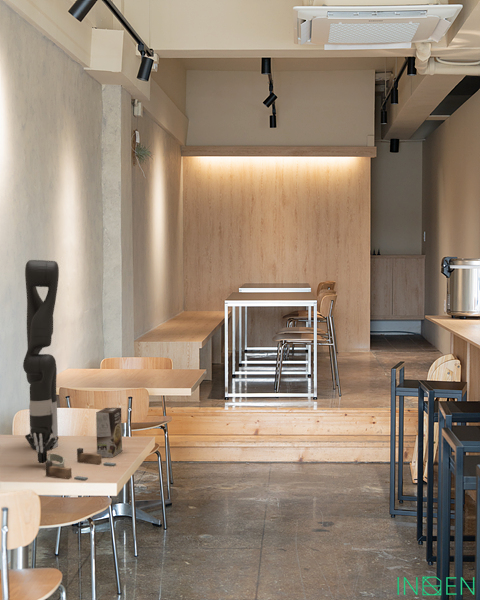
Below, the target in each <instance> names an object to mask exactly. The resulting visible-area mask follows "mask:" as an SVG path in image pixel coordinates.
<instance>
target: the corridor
mask: <svg viewBox="0 0 480 600" xmlns="http://www.w3.org/2000/svg"><path fill="white" fill-rule="evenodd" d="M76 455H77V456H76V459H77V463H83V462H84V464H92V465H101V464H102V457H101V455H100V454H97V453H90V452H89V453H88V452H84V448H82V447H79V448H77V449H76ZM52 463H53V461H46V462H45V477H51V478H52V477H53V478H60V479H67V480H70V479H71V478H72V476H73V475H72V468H71V467H64V466H63V467H57V466H52Z"/></svg>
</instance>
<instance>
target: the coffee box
mask: <svg viewBox="0 0 480 600" xmlns="http://www.w3.org/2000/svg"><path fill="white" fill-rule="evenodd" d="M95 416H96V417H95V421H96V422H95V426H96V427H95V428H96V454H100V455H101V458H114V457H115V456H117V455H118V454H119V453H121V452H122V451H123V431H122V430H123V429H122V428H123V427H122V426H123V425H122V407H105V408H102V409H100V410H98V411H97V412H96V414H95Z"/></svg>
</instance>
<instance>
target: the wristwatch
mask: <svg viewBox="0 0 480 600" xmlns="http://www.w3.org/2000/svg"><path fill="white" fill-rule="evenodd" d="M47 461H52V466H57V467H64V466H65V461H66V459H65V458H64V457H63V456H62V455H60V454H57V453H50V452H49V453H47ZM47 461H46V462H47ZM54 462H55V463H54ZM56 462H59V463H56Z"/></svg>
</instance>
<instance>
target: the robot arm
mask: <svg viewBox="0 0 480 600" xmlns="http://www.w3.org/2000/svg"><path fill="white" fill-rule="evenodd" d="M24 269H25V270H24V277H25V293H26V338H27V339H26V341H27V342H26V343H27V350H26V353H25V356H24V359H23V363H22V364H23V365H22V367H23V371H24V372H25V374H26V381H27V382H28V384H30V385H29V406H28V407H29V433H28V434H25V437H24V438H25V439H26V441H27V443H28V445H29V446H30V448H31V449H32V450H33V451H35V452H36V453H37V461H38V464H46V462H47V458H48V451H51V450H53V449H55V448H56V447H58V446H59V438H60V437H59V432H58V404H57V403H58V400H57V399H58V398H57V396H58V395H57V375H58V374H57V362H56V361H57V360H56V359H55V357H54V356H53V355H52V354H49V353H43V354H42V353H41V352H42V349H44V348H47V347H50V346H51V344H52V336H53V333H54V313H55V312H54V311H55V307H56V299H57V295H58V286H59V276H60V274H59V273H60V270H59V269H60V267H59V264H58V261H55V260H42V259H41V260H39V259H28V261H26V264H25V267H24ZM37 287H38V288H39V287H40V288H47V293H46V296H45V299H44V300H43V299H42V298H41V296H40V294H39V291H38V289H37Z"/></svg>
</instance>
